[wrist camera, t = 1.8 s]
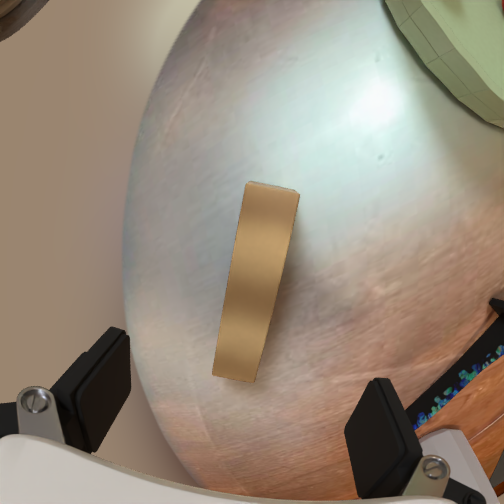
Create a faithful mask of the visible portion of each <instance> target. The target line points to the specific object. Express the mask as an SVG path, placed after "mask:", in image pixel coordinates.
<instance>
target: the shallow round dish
mask: <svg viewBox="0 0 504 504" xmlns="http://www.w3.org/2000/svg"><path fill="white" fill-rule="evenodd" d="M385 2H386V4H387V6H388V8H389V10H390V12H391V14H392V16H393V18H394V20H395V22H396V24H397V26H398V28H399V29H400V31H401V32H402V33H403V34H404V36H405V37H406V38H407V40H408V41H409V43H410V44H411V45H412V47H413V48H414V49H415V51H416V52H417V54H418V55H419V57H420V58H421V60H422V61H423V63H424V64H425V65H426V66H427V67H428V68H429V69H430V70H431V71H432V72H433V74H434V75H435V76H436V77H437V78H438V79H439V80H440V81H441V82H442V83H443V84H444V85H445V86H446V87H447V88H448V90H449V91H450V92H451V93H452V94H453V95H454V96H455V97H456V98H457V99H458V100H459V101H461V102H462V103H463V104H465V105H466V106H467V107H469V108H470V109H471V110H472V111H474V112H475V113H476V114H478V115H479V116H480V117H481V118H483V119H484V120H485V121H487V122H489V123H492V124H494V125H497V126H499V127H502V128H504V10H503V8H502V0H385Z"/></svg>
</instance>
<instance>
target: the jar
mask: <svg viewBox="0 0 504 504" xmlns="http://www.w3.org/2000/svg"><path fill="white" fill-rule="evenodd" d="M419 442H420V445H421V447H422V449H423V452H422V453H423V456H426V455H437V456H440V457H442V458H443V459H445V461H446V462H447V463H448V464H449V466H450V470H451V473H450V478H452V479H454V480H456V481H458V482H460V483H462V484H464V485H466V486H468V487H470V488H472V489H474V490H477V491H478V492H480V493H481V494H482V495H483V496H484V497H485V499H486V503H487V504H500V502H499V500H498V498H497V496H496V494H495V492H494V490H493V488H492V486H491V484H490V482H489V480H488V478H487V476H486V474H485V472H484V470H483V468H482V466H481V465H480V463H479V461H478V459H477V457H476V455H475V454H474V452H473V450H472V448H471V446H470V445H469V443H468V441H467V439H466V438H465V436H464V434H463V432H462V431H461V430H455V429H440V430H438V431H435V432H432V433H429V434H427V435H425V436H424V437H422V438H421V439H419Z"/></svg>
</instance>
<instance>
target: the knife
mask: <svg viewBox="0 0 504 504" xmlns="http://www.w3.org/2000/svg"><path fill="white" fill-rule="evenodd" d="M489 304H490V305H491V306H492V308H493V309H494V310H495V311H496V312H497V314H498V315H499V317H498V318H497V319H496V320H495V321H494V322H493V324H492V325H491V326H490V327H489V328H488V329H487V330H486V331H485V332H484V333H483V334H482V336H481V337H480V338H479V339H478V340H477V341H476V342H475V343H474V344H473V345H472V346H471V347H470V348H469V349H468V350H467V351H466V352H465V354H464V355H463V356H462V357H461V358H460V359H459V360H458V361H457V362H456V363H455V364H454V365H453V366H452V367H451V368H450V369H449V370H448V371H447V372H446V373H444V374H443V375H442V376H441V377H440V378H439V379H438V380H437V381H436V382H435V383H434V384H433V385H432V386H431V387H430V388H429V389H428V390H427V391H426V392H425V393H423V394H422V395H421V396H420V397H419V398H418V399H417V400H416V401H415V402H414V403H413V404H412V405H411V406H410V407H408V408H407V409H406V410H405V412H406V414H407V416H408V418H409V420H410V422H411V425H412V427H413V429H414V430H416V429H417V428H419V427H420V426H421V425H422V424H424V423H425V422H426V421H427V420H429V419H430V418H431V417H432V416H433V415H435V414H436V413H437V412H438V411H439V410H440V409H441V408H442V407H443V406H445V405H446V404H447V403H448V402H449V401H450V400H451V399H452V398H453V397H454V396H455V395H456V394H457V393H459V392H460V391H461V390H462V389H463V388H464V387H465V386H466V385H467V384H468V383H469V382H470V381H471V380H472V379H473V378H475V377H476V376H477V375H478V374H479V373H480V372H481V371H482V370H484V369H485V368H486V367H487V366H489V365H490V364H491V363H493V362H494V361H495V360H497V359H498V358H499V357H501V356H502V355H504V301H503V300H499V299H495V298H492V299H491V301H490V303H489Z"/></svg>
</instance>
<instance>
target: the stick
mask: <svg viewBox="0 0 504 504" xmlns="http://www.w3.org/2000/svg"><path fill="white" fill-rule="evenodd" d="M299 198H300V194H299V193H298V192H296V191H295V190H292V189H288V188H283V187H278V186H273V185H268V184H264V183H258V182H253V181H249V182H248V183H246V186H245V191H244V196H243V201H242V207H241V212H240V217H239V222H238V228H237V233H236V239H235V244H234V249H233V255H232V260H231V266H230V272H229V277H228V283H227V288H226V294H225V300H224V305H223V311H222V317H221V323H220V329H219V335H218V340H217V346H216V352H215V358H214V365H213V371H212V375H213V376H218V377H223V378H228V379H233V380H239V381H244V382H250V383H254V382H255V378H256V375H257V371H258V367H259V363H260V360H261V356H262V352H263V348H264V345H265V341H266V337H267V333H268V329H269V325H270V321H271V317H272V313H273V309H274V305H275V301H276V297H277V293H278V289H279V285H280V281H281V277H282V273H283V268H284V264H285V260H286V256H287V251H288V247H289V243H290V238H291V234H292V229H293V225H294V221H295V216H296V212H297V207H298V202H299Z"/></svg>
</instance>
